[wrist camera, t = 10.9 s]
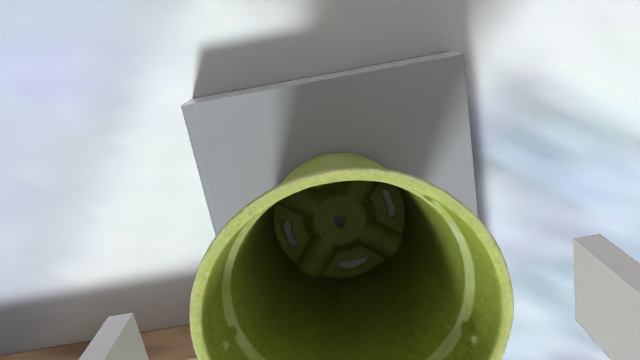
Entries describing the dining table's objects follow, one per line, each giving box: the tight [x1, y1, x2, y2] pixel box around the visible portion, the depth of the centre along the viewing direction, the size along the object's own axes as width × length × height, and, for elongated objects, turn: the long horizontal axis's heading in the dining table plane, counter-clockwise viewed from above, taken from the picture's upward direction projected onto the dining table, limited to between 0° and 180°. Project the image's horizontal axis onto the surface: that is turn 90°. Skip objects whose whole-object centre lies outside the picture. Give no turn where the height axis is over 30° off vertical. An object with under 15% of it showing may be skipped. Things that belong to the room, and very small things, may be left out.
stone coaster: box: [181, 51, 478, 268], centre depth 24 cm, size 12×12×2 cm
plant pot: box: [189, 153, 514, 360], centre depth 19 cm, size 9×9×9 cm
